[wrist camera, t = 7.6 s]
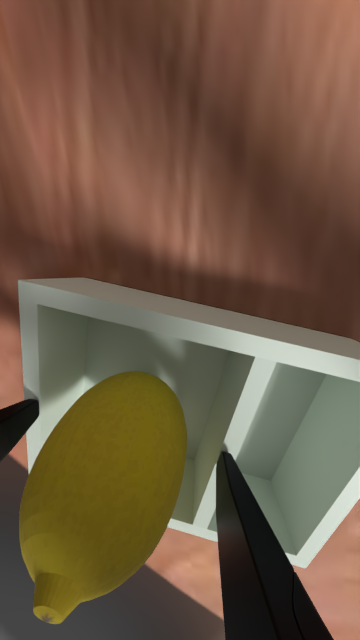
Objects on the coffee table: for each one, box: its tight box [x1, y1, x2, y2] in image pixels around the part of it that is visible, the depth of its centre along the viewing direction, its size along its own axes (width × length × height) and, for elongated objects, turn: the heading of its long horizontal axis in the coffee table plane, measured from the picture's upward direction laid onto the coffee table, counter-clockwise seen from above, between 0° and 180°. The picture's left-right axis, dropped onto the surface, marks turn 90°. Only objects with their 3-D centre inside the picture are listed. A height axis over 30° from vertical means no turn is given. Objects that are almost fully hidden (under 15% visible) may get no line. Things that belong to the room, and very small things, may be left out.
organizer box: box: [18, 277, 360, 569], centre depth 10 cm, size 16×12×4 cm
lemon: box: [19, 371, 187, 624], centre depth 7 cm, size 6×6×8 cm
